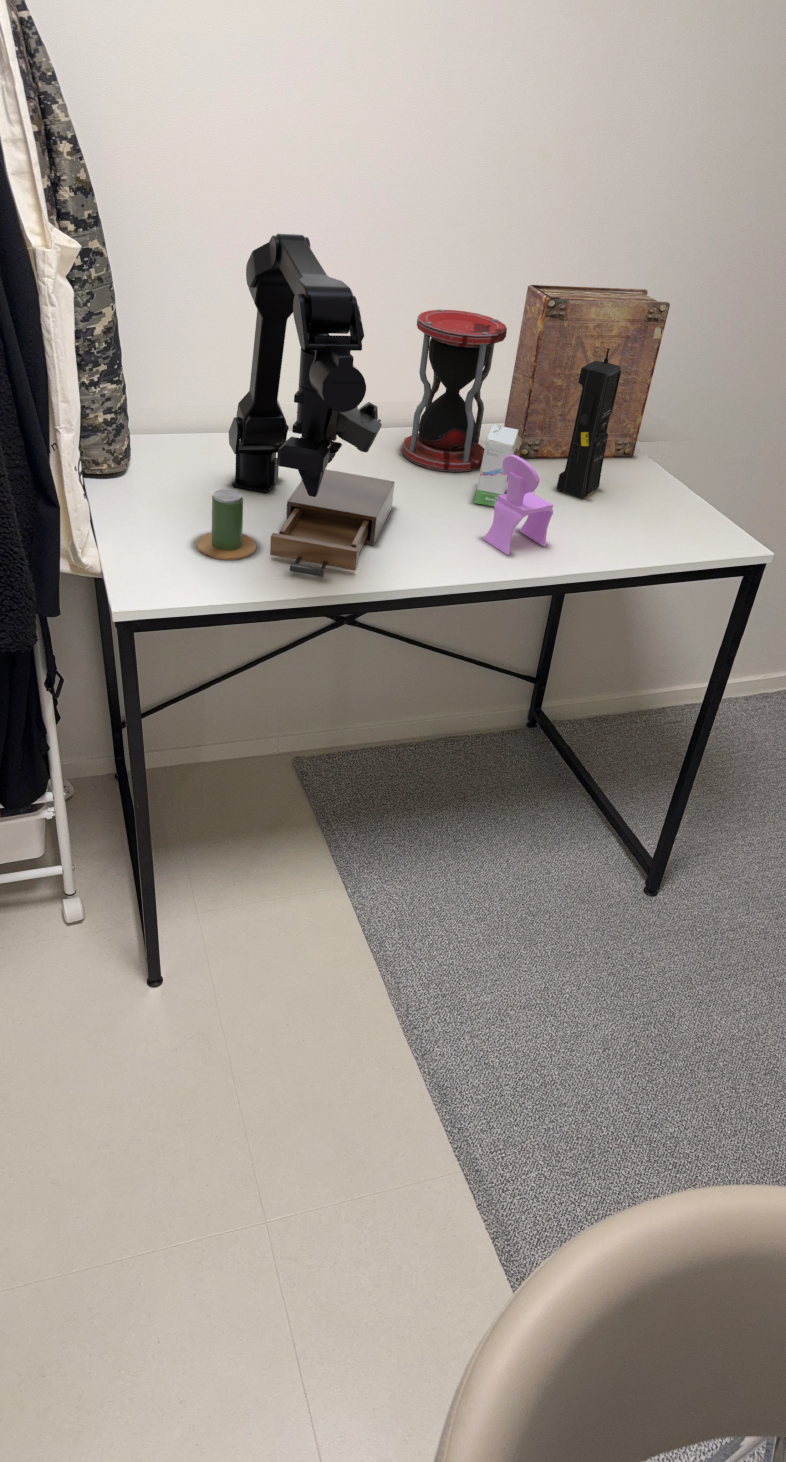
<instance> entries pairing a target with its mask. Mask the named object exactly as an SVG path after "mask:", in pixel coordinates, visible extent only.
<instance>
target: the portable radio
mask: <svg viewBox="0 0 786 1462" xmlns="http://www.w3.org/2000/svg"><path fill="white" fill-rule="evenodd" d="M609 350H610V349H609V348H607V354H606V358H604V362H602V361H594V362H592V363H590V364H588V365H586V366H584V367H582V368H581V372H580V377H579V382H578V383H580V384H581V385H582V392H581V397H580V402H579V406H578V411H577V416H576V421H575V425H574V430H573V435H572V440H571V444H570V449H569V454H568V458H566V462H565V463H566V464H565V468H564V471H562V472H561V473H559V475H558V478H557V479H558V480H557V483H556V490H557V491H559V492H562V493H564V494H567V495H570V496H573V497H576V498H579V499H581V500H582V499H583V500H584V499H585V498H586V497H587V496H589V495H590V494H592V493H593V492H595V491H596V490H597V489H599V488H600V483H601V476H602V470H603V464H604V459H605V458H604V454H605V449H606V444H607V439H608V433H607V428H608V423H609V418H610V415H611V414H612V411H613V406H614V402H615V397H616V393H617V388H618V384H619V379H620V375H621V369H620V366H618V365H614V364H610V363H608V353H609Z"/></svg>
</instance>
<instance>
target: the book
mask: <svg viewBox="0 0 786 1462" xmlns="http://www.w3.org/2000/svg"><path fill="white" fill-rule="evenodd" d="M670 306H671V303H670V302H669V301H658V300H656V298H653V297H651V296H649V295H648V289H645V288H623V287H622V288H621V287H598V286H597V287H596V286H595V287H594V286H572V285H571V286H568V285H545V284H543V285H541V284H529V285H527V290H526V296H525V301H524V307H523V313H522V319H521V324H520V330H519V335H518V342H517V348H516V354H515V359H514V366H513V371H512V378H511V384H510V388H509V389H510V390H509V395H508V401H507V405H506V413H505V419H504V425H503V427H508V428H513V429H518V430H519V431H518V436H517V441H516V446H515V451H514V455H516V456H518V457H520V458H522V459H568V454H569V449H570V444H571V440H572V435H573V430H574V425H575V421H576V416H577V411H578V406H579V402H580V397H581V392H582V385H581V384H580V383H578V382H579V377H580V372H581V368H582V367H584V366H586V365H588V364H590V363H592V362H594V361H602V362H604V358H606V354H607V348H609V349H610V350H609V353H608V363H610V364H614V365H618V366H620V369H621V375H620V379H619V384H618V388H617V393H616V397H615V402H614V406H613V411H612V414H611V415H610V418H609V423H608V428H607V433H608V439H607V444H606V449H605V454H604V459H605V458H607V459H609V458H610V459H611V458H614V459H615V458H616V459H617V458H633V457H634V454H635V452H636V451H635V450H636V447H637V441H638V438H639V434H640V429H641V426H642V421H643V418H644V413H645V410H646V405H647V401H648V397H649V392H650V389H651V384H652V381H653V378H654V377H653V376H654V372H655V369H656V364H657V361H658V357H659V352H660V348H661V344H662V339H663V335H664V331H665V328H666V324H667V319H668V315H669V311H670Z"/></svg>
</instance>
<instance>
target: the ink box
mask: <svg viewBox="0 0 786 1462" xmlns="http://www.w3.org/2000/svg"><path fill="white" fill-rule="evenodd" d="M518 431H519V430H518V429H513V428H508V427H504V425H499V424H492V425H491V427H490V430H489V432H488V434H487V437H486V440H485V446H484V449H485V450H484V455H483V460H482V465H481V467H480V470H479V475H478V480H477V485H476V486H477V487H476V492H475V496H474V501H473V504H479V505H484V506H489V507H493V508H494V506H495V503H496V501H497V498H498V495H502V494H506V492H507V489H508V476H507V475H506V473H505V472H504V470H503V460H504V458H505V457H506V456H507V455H511V454H512V455H515V453H514V451H515V446H516V441H517V436H518Z"/></svg>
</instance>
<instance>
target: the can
mask: <svg viewBox="0 0 786 1462" xmlns="http://www.w3.org/2000/svg"><path fill="white" fill-rule="evenodd" d="M242 494H243V493H241V492H240V491H238V490H236V489H229V488H223V489H217V490H215V491H214V492H213V495H212V496H211V533H212V545H213V546H214V547H215V548H217V549H220V550H236V549H239V548H240V547H241V546H242V534H243V522H244V521H243V520H244V497H243V495H242Z"/></svg>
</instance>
